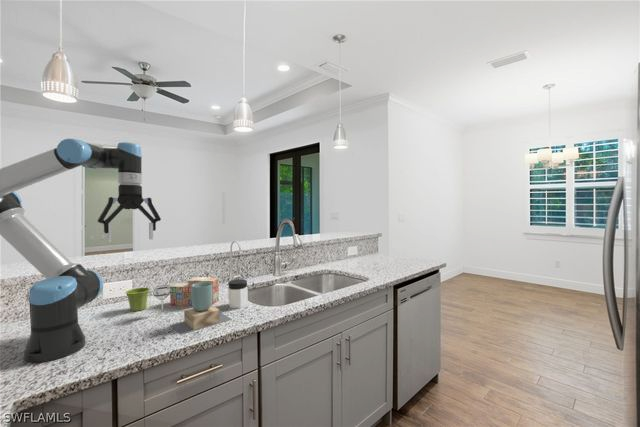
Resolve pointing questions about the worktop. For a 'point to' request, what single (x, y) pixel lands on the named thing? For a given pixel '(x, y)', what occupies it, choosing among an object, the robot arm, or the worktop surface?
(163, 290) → the wineglass
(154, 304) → the worktop surface
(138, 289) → the plant pot
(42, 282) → the robot arm
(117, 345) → the worktop surface
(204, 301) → the cup
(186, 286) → the stack of blocks
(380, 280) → the worktop surface
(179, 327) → the base board
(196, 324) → the oak riser
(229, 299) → the jar
